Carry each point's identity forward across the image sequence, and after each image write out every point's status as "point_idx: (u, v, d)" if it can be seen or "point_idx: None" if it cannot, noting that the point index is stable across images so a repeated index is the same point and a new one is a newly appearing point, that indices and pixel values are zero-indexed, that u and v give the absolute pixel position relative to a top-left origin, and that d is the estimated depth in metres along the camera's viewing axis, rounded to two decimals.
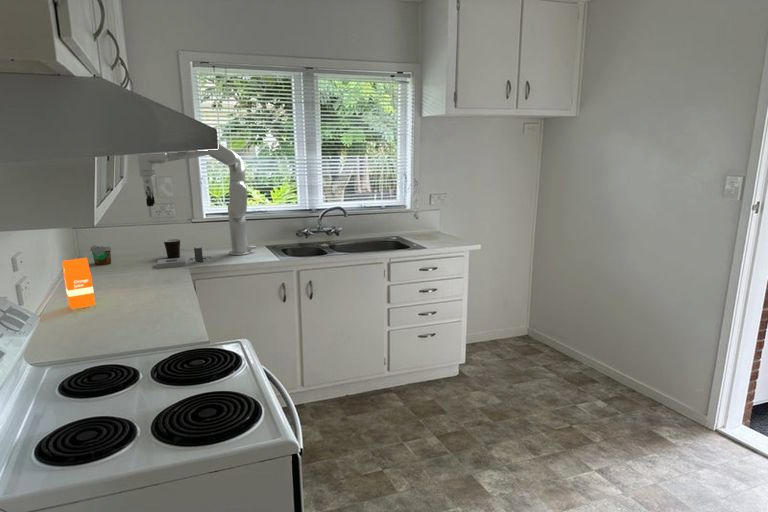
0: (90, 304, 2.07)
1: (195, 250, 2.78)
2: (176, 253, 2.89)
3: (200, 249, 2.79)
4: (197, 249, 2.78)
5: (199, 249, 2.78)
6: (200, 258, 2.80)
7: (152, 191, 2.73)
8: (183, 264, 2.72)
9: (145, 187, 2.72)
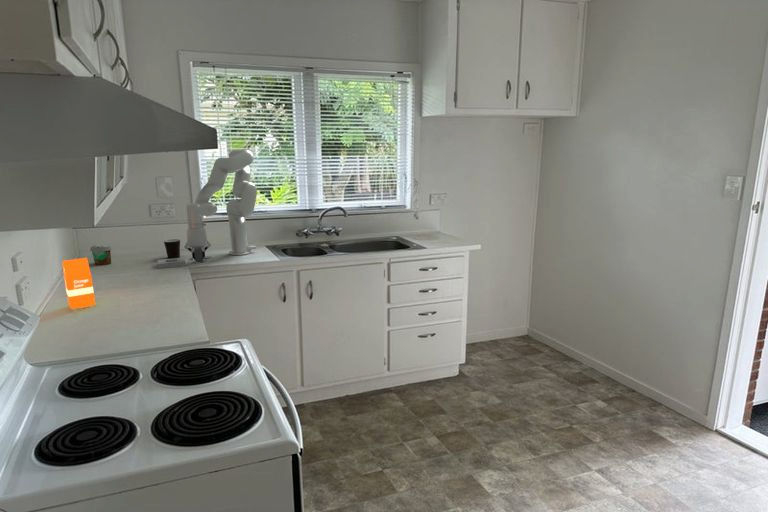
0: (90, 304, 2.07)
1: (195, 250, 2.78)
2: (176, 253, 2.89)
3: (200, 249, 2.78)
4: (197, 249, 2.78)
5: (199, 249, 2.78)
6: (200, 258, 2.80)
7: None
8: (183, 264, 2.72)
9: (206, 238, 2.79)
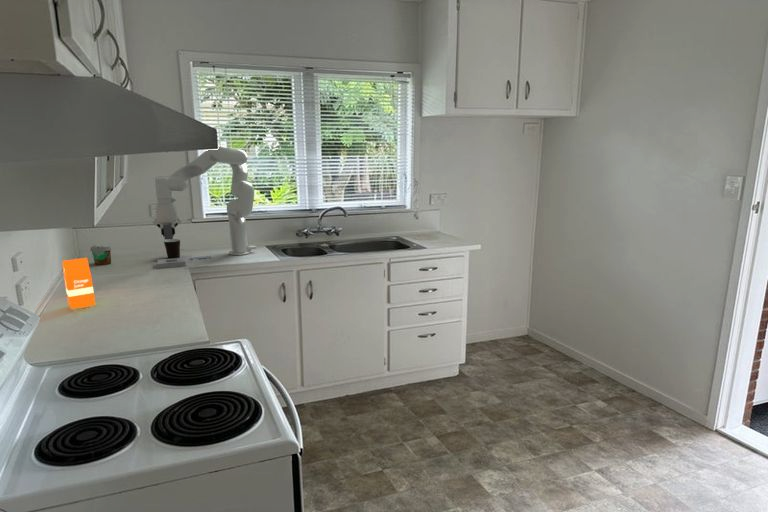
0: (90, 304, 2.07)
1: (164, 226, 2.68)
2: (176, 253, 2.89)
3: (169, 225, 2.69)
4: (166, 225, 2.68)
5: (168, 225, 2.68)
6: (170, 234, 2.70)
7: None
8: (183, 264, 2.72)
9: (176, 214, 2.69)
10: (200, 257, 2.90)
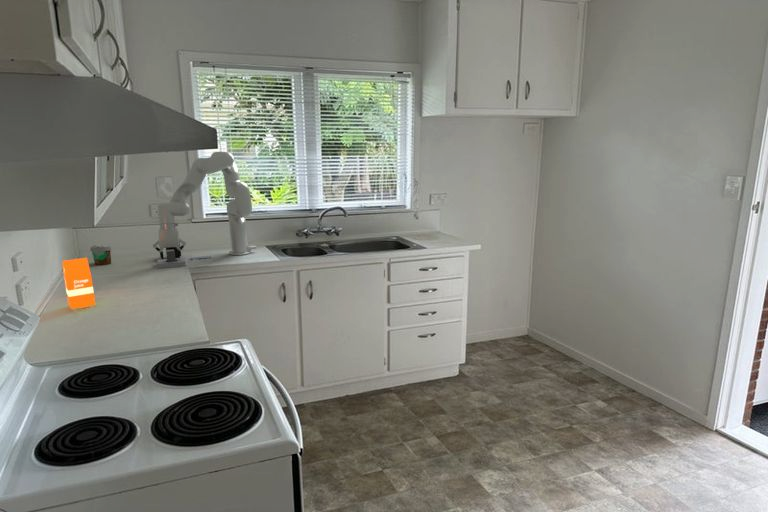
0: (90, 304, 2.07)
1: (167, 253, 2.71)
2: (176, 253, 2.89)
3: (172, 252, 2.72)
4: (169, 252, 2.71)
5: (171, 252, 2.72)
6: (173, 261, 2.73)
7: (179, 242, 2.76)
8: (183, 264, 2.72)
9: (178, 238, 2.72)
10: (200, 257, 2.90)
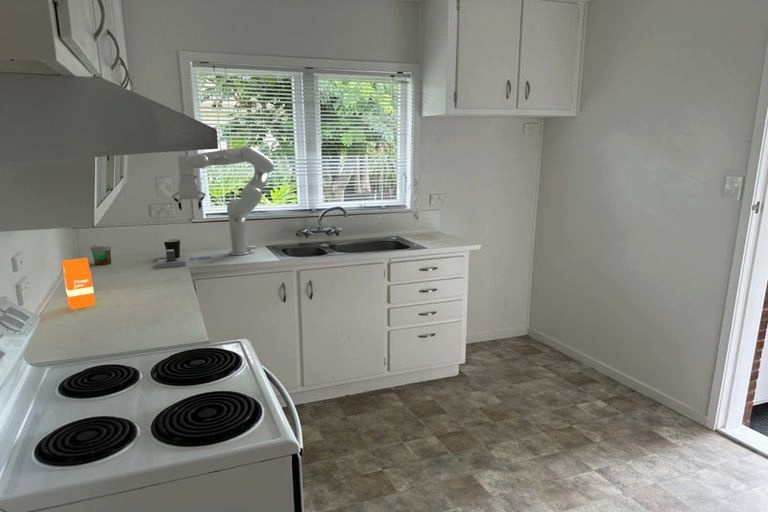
0: (90, 304, 2.07)
1: (167, 253, 2.71)
2: (176, 253, 2.89)
3: (172, 252, 2.72)
4: (169, 252, 2.71)
5: (171, 252, 2.72)
6: (173, 261, 2.73)
7: None
8: (183, 264, 2.72)
9: (198, 191, 2.79)
10: (200, 257, 2.90)
